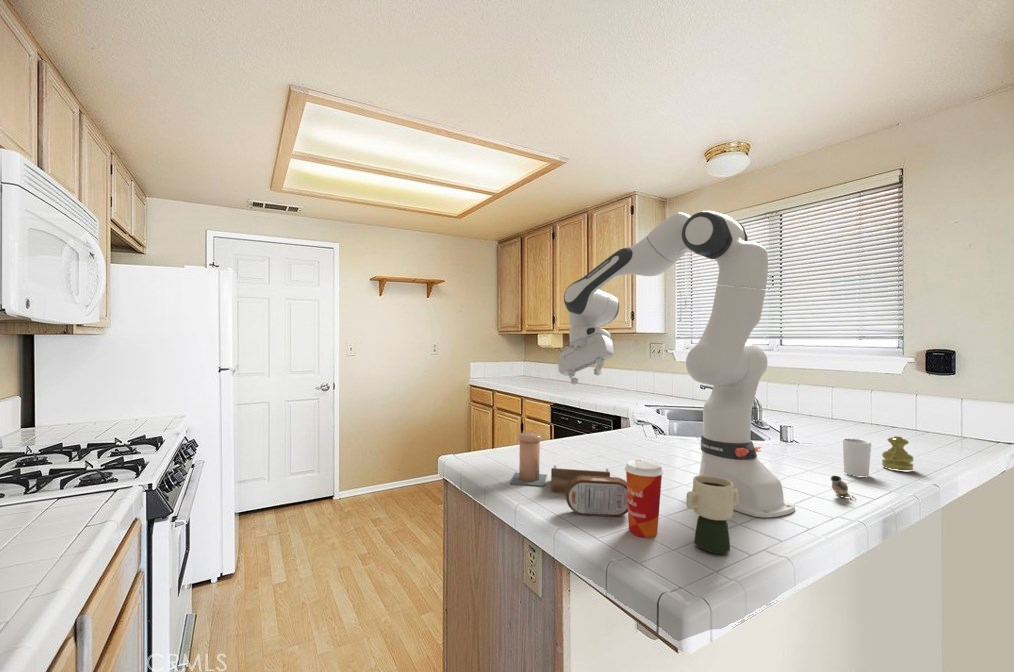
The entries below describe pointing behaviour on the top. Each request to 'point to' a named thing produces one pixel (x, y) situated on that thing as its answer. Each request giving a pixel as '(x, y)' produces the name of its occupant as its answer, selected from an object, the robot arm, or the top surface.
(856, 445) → the white cup
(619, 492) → the tin
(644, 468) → the paper cup
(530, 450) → the peach capped cylinder
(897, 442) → the gold chess piece
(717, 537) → the character mug
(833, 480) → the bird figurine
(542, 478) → the slate mat
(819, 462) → the top surface
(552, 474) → the wooden u-shaped open frame
